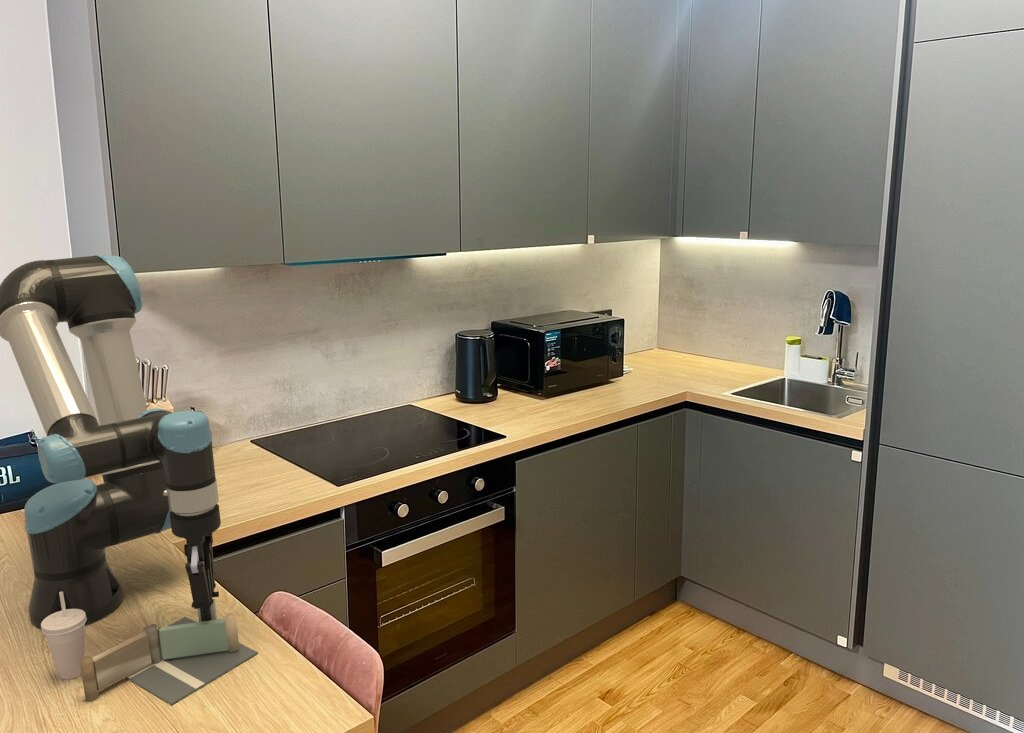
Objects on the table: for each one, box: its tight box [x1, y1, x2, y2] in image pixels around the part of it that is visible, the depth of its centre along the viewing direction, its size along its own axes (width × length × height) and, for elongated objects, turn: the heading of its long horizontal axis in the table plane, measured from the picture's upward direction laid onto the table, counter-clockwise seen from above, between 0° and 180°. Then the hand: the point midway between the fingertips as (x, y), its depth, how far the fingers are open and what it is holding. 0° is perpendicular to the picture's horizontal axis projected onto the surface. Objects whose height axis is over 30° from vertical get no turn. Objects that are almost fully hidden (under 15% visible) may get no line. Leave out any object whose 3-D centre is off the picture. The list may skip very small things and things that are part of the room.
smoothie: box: [40, 592, 87, 681], centre depth 130 cm, size 6×6×14 cm
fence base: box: [79, 623, 162, 702], centre depth 129 cm, size 2×13×7 cm, turn 145°
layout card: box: [124, 616, 259, 706], centre depth 135 cm, size 20×16×1 cm
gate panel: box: [158, 612, 240, 659], centre depth 135 cm, size 12×2×6 cm, turn 104°
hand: (209, 636), depth 138 cm, fingers closed
